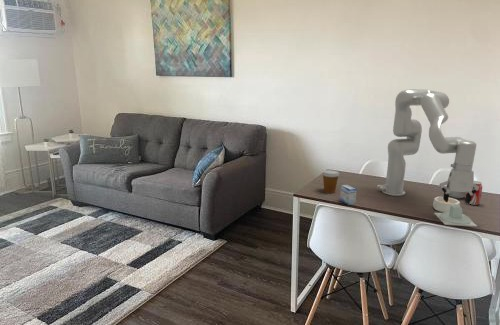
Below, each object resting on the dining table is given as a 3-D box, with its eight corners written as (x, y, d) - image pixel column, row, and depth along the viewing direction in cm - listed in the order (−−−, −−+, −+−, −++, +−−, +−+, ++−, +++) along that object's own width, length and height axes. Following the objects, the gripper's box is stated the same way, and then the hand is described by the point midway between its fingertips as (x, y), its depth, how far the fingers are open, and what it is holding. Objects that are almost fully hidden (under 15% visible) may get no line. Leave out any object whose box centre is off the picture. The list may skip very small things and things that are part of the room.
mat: (445, 224, 173) (445, 223, 173) (434, 213, 187) (434, 212, 186) (477, 226, 172) (477, 225, 171) (463, 215, 185) (463, 214, 185)
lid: (445, 223, 173) (447, 211, 172) (435, 213, 186) (437, 201, 184) (475, 225, 172) (477, 213, 170) (463, 214, 184) (465, 203, 183)
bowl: (438, 212, 188) (439, 203, 187) (430, 205, 198) (431, 196, 197) (461, 214, 187) (462, 204, 185) (452, 206, 197) (453, 197, 196)
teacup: (469, 200, 206) (471, 186, 205) (448, 199, 209) (450, 185, 207) (461, 192, 220) (463, 179, 218) (441, 191, 222) (443, 178, 220)
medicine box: (339, 200, 203) (340, 185, 201) (346, 199, 205) (347, 184, 203) (348, 205, 196) (350, 189, 194) (355, 204, 198) (357, 188, 196)
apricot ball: (443, 208, 191) (444, 202, 190) (440, 206, 194) (441, 199, 193) (450, 209, 190) (451, 202, 189) (448, 206, 194) (449, 200, 193)
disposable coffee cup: (331, 195, 211) (332, 174, 209) (317, 191, 218) (319, 171, 215) (341, 191, 218) (342, 172, 215) (327, 188, 224) (329, 168, 222)
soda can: (461, 201, 205) (464, 180, 202) (473, 201, 206) (477, 180, 203) (469, 205, 198) (473, 184, 195) (482, 205, 199) (486, 184, 196)
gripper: (446, 168, 170) (440, 203, 175) (486, 170, 168) (479, 206, 173) (440, 164, 177) (434, 197, 182) (478, 166, 176) (472, 200, 180)
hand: (456, 201), depth 178 cm, fingers open, 9 cm apart
